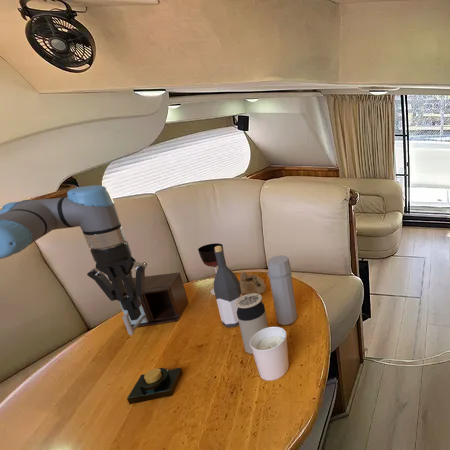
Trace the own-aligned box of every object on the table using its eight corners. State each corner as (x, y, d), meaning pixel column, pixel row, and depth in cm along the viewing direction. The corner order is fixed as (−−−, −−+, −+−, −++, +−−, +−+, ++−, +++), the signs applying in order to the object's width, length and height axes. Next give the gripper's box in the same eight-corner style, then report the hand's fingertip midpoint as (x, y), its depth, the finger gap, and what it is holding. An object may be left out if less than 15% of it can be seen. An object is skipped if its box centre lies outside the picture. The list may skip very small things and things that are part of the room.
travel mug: (274, 346, 102) (266, 300, 96) (249, 358, 98) (238, 311, 91) (266, 334, 108) (257, 289, 101) (241, 344, 103) (231, 299, 97)
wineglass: (211, 286, 136) (201, 244, 129) (233, 283, 138) (224, 242, 131) (206, 296, 129) (195, 253, 121) (230, 293, 131) (220, 250, 124)
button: (143, 385, 84) (141, 380, 83) (149, 374, 87) (147, 369, 87) (158, 382, 85) (157, 377, 84) (164, 371, 88) (162, 367, 88)
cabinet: (126, 329, 110) (112, 295, 105) (141, 309, 121) (130, 278, 115) (177, 321, 114) (167, 288, 109) (188, 302, 125) (179, 272, 120)
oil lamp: (256, 303, 124) (253, 286, 121) (230, 295, 130) (226, 278, 127) (277, 289, 134) (274, 273, 131) (251, 282, 139) (248, 266, 136)
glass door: (113, 343, 102) (100, 314, 98) (129, 324, 111) (118, 296, 107) (137, 339, 104) (126, 310, 99) (151, 320, 113) (141, 293, 108)
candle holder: (254, 386, 88) (246, 353, 84) (259, 360, 97) (252, 329, 92) (290, 379, 90) (285, 346, 86) (292, 354, 99) (287, 324, 95)
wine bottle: (251, 315, 117) (236, 243, 106) (236, 329, 110) (218, 253, 99) (233, 312, 119) (217, 240, 108) (217, 325, 112) (197, 250, 101)
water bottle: (302, 318, 116) (294, 258, 107) (283, 329, 110) (273, 267, 101) (287, 309, 121) (278, 251, 112) (269, 319, 115) (258, 259, 106)
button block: (129, 404, 83) (124, 393, 81) (143, 380, 90) (139, 369, 88) (172, 395, 85) (168, 384, 84) (182, 372, 92) (179, 362, 91)
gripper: (143, 236, 88) (166, 305, 96) (87, 241, 84) (116, 313, 93) (131, 247, 81) (157, 321, 90) (68, 253, 77) (102, 330, 86)
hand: (136, 317), depth 91 cm, fingers closed
